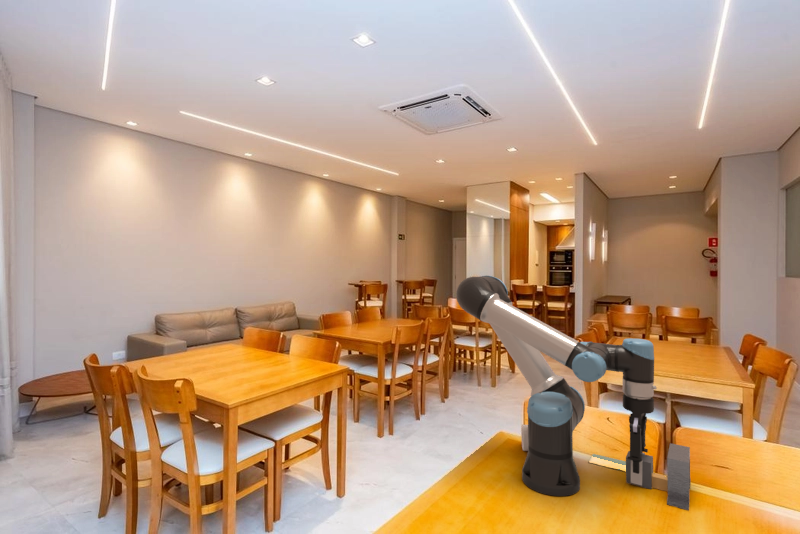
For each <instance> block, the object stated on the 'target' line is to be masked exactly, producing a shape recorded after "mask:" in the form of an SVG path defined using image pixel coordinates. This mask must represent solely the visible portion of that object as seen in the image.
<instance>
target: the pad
mask: <svg viewBox="0 0 800 534" xmlns="http://www.w3.org/2000/svg"><path fill="white" fill-rule="evenodd" d="M591 456H593V457H597V458H600V459H604V460H608V461H612V462H614V463H618V464H622V465H626V460H620V459H618V458H613V457H608V456H604V455H600V454H597V453H592V454H591ZM618 470H620V469H618ZM618 470H617V471H618Z"/></svg>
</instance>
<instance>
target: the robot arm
mask: <svg viewBox="0 0 800 534" xmlns="http://www.w3.org/2000/svg"><path fill="white" fill-rule="evenodd" d="M455 294H456V301H457V304H458V306H459V307H460V308H461V309H462V310H463V311H464V312H465V313H467V314H469V315H470V316H473V318H475V319H478V320H479V321H481V322H483V323H487V324H489V325H490V327H491V328H492V330H493V331H494V333H495V334H496V336H497V337H498V339H499V341H500V342H501V344H502V345H503V347H504V348H505V349H506V351H507V352H508V354H509V356H510V357H511V358H512V360H513V362H514V364H515V365H516V367H517V368H518V369H519V371H520V373H521V374H522V376H523V377H524V379H525V380H526V382H527V383H528V385H529V387H530V388H531V392H530V398H529V399H528V401H527V407H526V412H527V425H528V451H527V453H526V456H525V460H524V463H523V466H522V469H521V477H522V478H521V479H522V482H523V483H524V484H525V485H526V486H527V488H530V489H531V490H533V491H535V492H537V493H539V494H540V493H541V494H543V495H547V496H554V497H566V496H567V497H568V496H571V495H574V494H576V493H578V492H579V491H580V489H581V478H580V475H579V471H578V469H577V465H576V463H575V460H574V454H573V453H574V450H573V449H574V448H573V445H574V444H573V443H574V442H573V439H574V438H573V433H574V431H575V429H576V427H578V425H579V424H580V422H581V421H582V420H583V418H584V414H585V410H586V408H585V407H586V406H585V401H584V398H583V396H582V394H581V393H580V392H579V391H578V390H577V389H576V388H574V387H573V386H571V385H569V383H568V381H567V380H566V379H565V377H564V376H562V375H558V374H556V373H555V372H554V370H553V369H552V366H551V365H550V364H549V363H548V361H547V360H546V358H545V357H544V355H543V354H545V355H546V356H547V357H549V358H552V359H553V360H555V361H556V362H558V363H560V364H562V365H563V366H565V367H566V368H568V369H570V370H572V372H573V374H574V375H575V376H576V378H577V379H578V380H580V381H582V382H585V383H594V382H596V381H599V380H600V379H601V378H602V377H604V376H605V374H606V372H607V371H609V372H617V373H619V372H621V373H622V393H623V394H622V407H623V408H624V409H625V410H626V411H630V412H631V413H630V414H629V415H630V416H628V422H629V424H628V425H629V451H630V457H629V456H628V459H630V460H631V483H634V484H637V485H641V486H642V454H645V455H646V453H648V451H649V449H648V448H646V431H647V422H648V417H647V414H651V413H653V412H654V411H655V399H654V396H655V395H654V393H655V391H654V390H657V386H656V385H654V382H655V351H654V350H655V349H654V344H653V342H652V341H650V340H648V339H643V338H631V337H630V338H624V339H623V340H622V344H613V343H611V344H610V343H600V342H593V341H580V342H579V340H577V339H574V338H573V337H571V336H570V335H569V336H568V335H567V334H566V333H564V332H562V331H560V330H558V329H556V328H554V327H553V326H550V325H549V324H547V323H545V322H544V321H541V320H540V319H538V318H536V317H534V316H533V315H531V314H529V313H527V312H525V311H523V310H522V309H519V308H518V307H515V306H514V305H513V302H512V300H511V299H510V297H509V295H508V294H509V293H508V288H507V286H506V284H505V282H503V281H502V280H501V279H500V278H498V277H495V276H493V275H482V276H469V277H467V278H464V279H463V280H462V281H460V283H459V284H458V286H457V288H456V292H455ZM542 353H543V354H542ZM637 485H636V486H637Z"/></svg>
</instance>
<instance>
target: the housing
mask: <svg viewBox="0 0 800 534" xmlns="http://www.w3.org/2000/svg"><path fill="white" fill-rule="evenodd" d="M690 449H691V447H690V446H685V445H680V444H677V443H676V444H675V443H671V442H670V443H669V448H668V451H667V458H666V459H667V463H666V464H667V465H666V466H667V473H666V474H667V476H668V492H667V498H666V505H668V506H672V507H674V508H675V507H676V508H679V509H682V510H686V511H689V510H690V490H691V482H692V481H691V451H690Z"/></svg>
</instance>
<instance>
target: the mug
mask: <svg viewBox="0 0 800 534" xmlns="http://www.w3.org/2000/svg"><path fill="white" fill-rule="evenodd" d="M520 432H521V435H520V436H521V447H522V451H523V452H528V424H521V431H520Z"/></svg>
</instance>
